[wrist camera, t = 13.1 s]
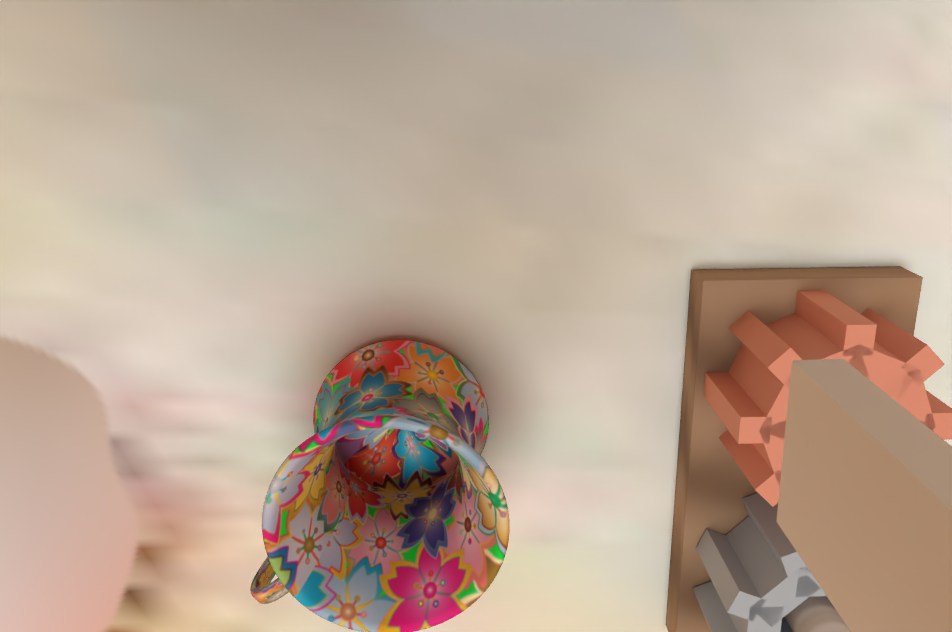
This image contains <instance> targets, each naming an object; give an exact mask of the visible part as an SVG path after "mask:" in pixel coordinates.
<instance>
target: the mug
mask: <svg viewBox="0 0 952 632" xmlns="http://www.w3.org/2000/svg"><path fill="white" fill-rule="evenodd" d="M313 422H314V431H315V435H313V436H312V437H310V438H309V439H307V440H306V441H304V442H303V443H302V444H301V445H300V446H298V447H297V448H296V449H295V450H294V451H293V452H292V453H291V454H290V455H289V456H288V457H287V458H286V460H285V461H284V462H283V463H282V465H281V466H280V468H279V469H278V471H277V472H276V474H275V476H274V478H273V480H272V482H271V484H270V486H269V489H268V492H267V495H266V498H265V502H264V506H263V514H262V532H263V540H264V545H265V549H266V552H267V555H268V557H267V558H266V560H265V561H264V563H263V564H262V566H261V567H260V569H259V570H258V572H257V574H256V575H255V577H254V579H253V581H252V584H251V589H250V591H251V594H252V596H253V597H254V598H255V599H256V600H257V601H258V602H260V603H263V604H267V603H271V602H273V601H276V600H278V599H279V598H281V597H282V596H284V595H285V594H287V593H288V592H290V593H291V594H292V596H293V597H295V598H296V599H297V600H298V601H299V602H300V603H301V604H302V605H304V606H305V607H306V608H308V609H309V610H310V611H312V612H313V613H315V614H317V615H318V616H320V617H322V618H324V619H326V620H328V621H330V622H332V623H335V624H337V625H340V626H342V627H346V628H349V629H352V630H357V631H361V632H413V631H419V630H422V629H426V628H430V627H432V626H435V625H438V624H440V623H443V622H445V621H447V620H449V619H451V618H453V617H454V616H456V615H458V614H459V613H461V612H462V611H464V610H465V609H467V608H468V607H469V606H471V605H472V604H473V603H474V602H475V601H476V600H477V599H478V598H479V597H480V596H481V595H482V594H483V593H484V592H485V591H486V589H487V588H488V587H489V586H490V584H491V583H492V581H493V580H494V578H495V576H496V575H497V573H498V571H499V569H500V567H501V565H502V563H503V560H504V557H505V554H506V550H507V546H508V540H509V513H508V507H507V502H506V498H505V496H504V493H503V490H502V487H501V485H500V483H499V481H498V479H497V477H496V476H495V474H494V472H493V471H492V469H491V468H490V466H489V465H488V464H487V463H486V461H485V460H484V459H483V458H482V457H481V456H480V455H481V453H482V451H483V449H484V446H485V443H486V439H487V435H488V426H489V416H488V409H487V404H486V400H485V397H484V394H483V392H482V390H481V388H480V386H479V384H478V383H477V381H476V379H475V378H474V377H473V375H472V374H471V373H470V371H469V370H468V369H467V368H466V367H465V366H464V365H463V364H462V363H461V362H460V361H458V360H457V359H456V358H454V357H453V356H452V355H450V354H448V353H447V352H445V351H443V350H441V349H439V348H437V347H434V346H431V345H429V344H425V343H421V342H416V341H409V340H391V341H384V342H379V343H375V344H372V345H368V346H366V347H364V348H361V349H359V350H357V351H355V352H354V353H352V354H350V355H349V356H347V357H346V358H345V359H343V360H342V361H341V362H340V363H339V364H338V365H337V366H336V367H335V368H334V369H333V370H332V371H331V372H330V373H329V375H328V376H327V377H326V379H325V381H324V382H323V384H322V386H321V388H320V390H319V393H318V395H317V398H316V402H315V407H314V417H313ZM275 574H276V575H277V576H278V578H277V579H276V580H275V581H273V582H272V583H270V582H271V580H272V579H273V577H274V576H275Z"/></svg>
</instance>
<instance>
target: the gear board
mask: <svg viewBox="0 0 952 632" xmlns="http://www.w3.org/2000/svg"><path fill="white" fill-rule="evenodd" d="M922 278H923V277H921V276H919V275H917V274H915V273H913V272H911V271H908V270H906V269H904V268H902V267H900V266H897V267H834V268H771V269H708V270H691V280H690V294H689V308H688V322H687V336H686V350H685V364H684V378H683V392H682V406H681V420H680V434H679V448H678V462H677V477H676V491H675V505H674V519H673V533H672V547H671V561H670V575H669V589H668V603H667V617H666V626H667V629H668V631H669V632H711V630H710V628H709V626H708V623H707V621H706V619H705V617H704V614H703V612H702V610H701V608H700V605H699V603H698V600H697V598H696V595H695V593H694V591H693V588H694V587H697V586H700V585H702V584H705V583H708V582H710V581H712V580H711V578H710V576H709V574H708V572H707V570H706V568H705V566H704V564H703V562H702V560H701V558H700V556H699V554H698V552H697V550H696V547H697V545H698V543H699V541H700V540H701V538H702V536H703V534H704V532H705V531H706V529H709V530H712V531H715V532H717V533H720V534H723V535H727V534H728V533H729V532H730V531H731V530H733V529H734V528H735V527H736V526H737V525H739V524H740V523H741V522H742V521H744V520H745V519H746V518H747V517H748V516H749V515H748V512H747V509H746V507H745V504H744V501H743V498H745V497H748V496H750V495H753V494H756V493H758V492H757V491H756V490H755V489H754V488H753V486H752V485H751V483H750V482H749V481H748V479H747V478H746V476H745V475H744V473H743V472H742V470H741V469H740V467H739V466H738V465H737V463H736V462H735V460H734V459H733V457H732V456H731V454H730V453H729V452H728V450H727V449H726V447H725V446H724V444H723V443H722V441H721V440H720V438H719V437H720V436H721V435H722V434H723V433H724V432H725V431H727V430H728V429H727V428H726V426H725V425H724V424H723V422H722V421H721V420H720V418H719V417H718V415H717V414H716V413H715V411H714V410H713V409H712V407H711V406H710V404H709V403H708V402H707V400H706V399H705V398H704V383H705V372H728V371H729V369H730V367H731V365H732V363H733V362H734V360H735V358H736V356H737V354H738V352H739V350H740V348H741V346H742V344H743V343H742V342H741V341H740V340H739V339H738V338H737V337H736V336H735V335H734V334H733V333H732V332H731V331H730V330H729V329H728V328H729V327H730V326H731V325H732V324H733V323H734V322H736V321H737V320H738V319H739V318H740V317H741V316H742V315H743V314H744V313H746V312H747V311H750V312H751V313H752V314H753V315H754V316H755V317H756V318H758V319H759V320H760V321H761V322H762V323H763V324H764V325H766V324H768V323H771V322H773V321H776V320H778V319H781V318H783V317H786V316H788V315H791V314H793V313H795V305H796V296H797V291H801V290H824V291H825V292H827V293H829V294H830V295H832V296H833V297H835V298H836V299H838V300H839V301H841V302H843V303H844V304H846V305H847V306H849V307H850V308H852V309H853V310H855V311H857V312H858V313H860V314H862V313H863V312H864V311H865V310H866V309H867V308H868V309H870V310H872V311H873V312H875V313H876V314H878V315H880V316H881V317H883V318H885V319H886V320H888V321H889V322H891V323H893V324H894V325H896V326H898V327H899V328H901V329H902V330H904V331H906V332H907V333H909V334H910V335H912V336H913V335H914V328H915V322H916V316H917V310H918V303H919V297H920V291H921V284H922ZM776 505H777V506H778V503H777V504H776ZM785 618H786V620H787V622H788V624H789V625H790V627H791V629H792V630H793V632H851V631H850V630H849V628H848V627H847V625H846V624H845V622H844V621H843V620H842V618H841V617H840V615H839V614H838V612H837V611H836V609H835V608H834V606H833V605H832V603H831V602H830V600H829V599H828V597H827V596H813V597H808V598H807V599H806V600H805V601H803V602H802V603H801V604H800V605H798V606H797V607H796V608H795V609H793V610H792V611H791V612H790V613H788V614H787V615H786V616H785Z"/></svg>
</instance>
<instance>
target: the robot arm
mask: <svg viewBox="0 0 952 632" xmlns="http://www.w3.org/2000/svg"><path fill="white" fill-rule="evenodd" d="M776 522H777V523H778V525H779V526H780V528H781V529H782V531H783V532H784V534H785V535H786V537H787V538H788V540H789V541H790V542H791V544H792V545H793V547H794V548H795V550H796V551H797V553H798V554H799V556H800V557H801V559H802V560H803V562H804V563H805V565H806V566H807V568H808V569H809V571H810V572H811V574H812V575H813V577H814V578H815V580H816V581H817V582H818V584H819V585H820V587H821V588H822V590H823V591H824V593H825V594H826V596H827V597H828V599H829V600H830V602H831V603H832V605H833V606H834V608H835V609H836V611H837V612H838V614H839V615H840V617H841V618H842V620H843V621H844V622H845V624H846V625H847V627H848V628H849V630H850V631H851V632H952V446H950V445H949V444H948V443H947V442H945V441H944V440H943V439H942V438H940V437H939V436H938V435H937V434H936V433H934V432H933V431H932V430H931V429H929V428H928V427H927V426H926V425H924V424H923V423H922V422H921V421H919V420H918V419H917V418H916V417H915V416H913V415H912V414H911V413H910V412H908V411H907V410H906V409H905V408H903V407H902V406H901V405H900V404H898V403H897V402H896V401H895V400H894V399H892V398H891V397H890V396H889V395H887V394H886V393H885V392H884V391H882V390H881V389H880V388H879V387H878V386H876V385H875V384H874V383H873V382H871V381H870V380H869V379H868V378H866V377H865V376H864V375H863V374H861V373H860V372H859V371H858V370H857V369H855V368H854V367H853V366H852V365H850V364H849V363H848V362H847V361H845V360H844V359H817V360H792V366H791V376H790V387H789V397H788V407H787V418H786V428H785V438H784V448H783V459H782V469H781V479H780V489H779V500H778V510H777V520H776Z"/></svg>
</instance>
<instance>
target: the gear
mask: <svg viewBox="0 0 952 632" xmlns="http://www.w3.org/2000/svg"><path fill="white" fill-rule="evenodd" d="M743 501H744V504H745V507H746V509H747V512H748V515H749V516H748V517H747V518H746V519H745V520H744V521H742V522H741V523H740V524H739V525H737V526H736V527H735V528H734V529H733V530H731V531H730V532H729V533H728V534H727V535H723V534H720V533H717V532H715V531H712V530H709V529H706V531H705V532H704V534H703V536H702V538H701V540H700V541H699V543H698V545H697V547H696V550H697V552H698V554H699V556H700V558H701V560H702V562H703V564H704V566H705V568H706V570H707V572H708V574H709V576H710V578H711V580H712V581H710V582H708V583H705V584H702V585H700V586H697V587H694V588H693V591H694V593H695V595H696V598H697V600H698V603H699V605H700V608H701V610H702V612H703V614H704V617H705V619H706V621H707V623H708V626H709V628H710V630H711V632H793V630H792V629H791V627H790V625H789V624H788V622H787V620H786V618H785V616H786V615H787V614H788V613H790V612H791V611H792V610H793V609H795V608H796V607H797V606H798V605H800V604H801V603H802V602H803V601H805V600H806V599H807V598H808V597H813V596H826V594H825V593H824V591H823V590H822V588H821V587H820V585H819V584H818V582H817V581H816V580H815V578H814V577H813V575H812V574H811V572H810V571H809V569H808V568H807V566H806V565H805V563H804V562H803V560H802V559H801V557H800V556H799V554H798V553H797V551H796V550H795V548H794V547H793V545H792V544H791V542H790V541H789V540H788V538H787V537H786V535H785V534H784V532H783V531H782V529H781V528H780V526H779V525H778V523H777V522H776V520H777V510H778V506H777V505H775V506H773V507H772V506H771V505H770V504H769V503H768V502H767V501H766V500H765V499H764V498H763V497H762V496H761V495H760V494H759V493H756V494H753V495H750V496H748V497H745V498H743Z"/></svg>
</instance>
